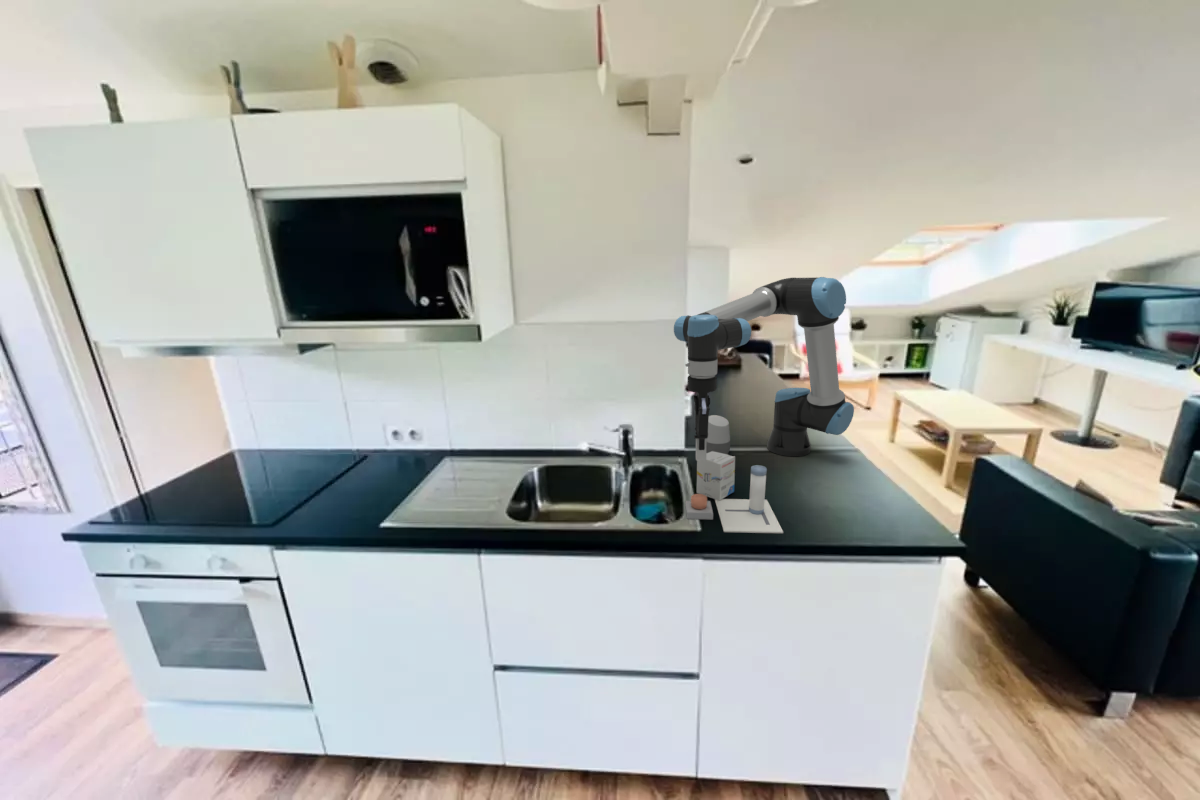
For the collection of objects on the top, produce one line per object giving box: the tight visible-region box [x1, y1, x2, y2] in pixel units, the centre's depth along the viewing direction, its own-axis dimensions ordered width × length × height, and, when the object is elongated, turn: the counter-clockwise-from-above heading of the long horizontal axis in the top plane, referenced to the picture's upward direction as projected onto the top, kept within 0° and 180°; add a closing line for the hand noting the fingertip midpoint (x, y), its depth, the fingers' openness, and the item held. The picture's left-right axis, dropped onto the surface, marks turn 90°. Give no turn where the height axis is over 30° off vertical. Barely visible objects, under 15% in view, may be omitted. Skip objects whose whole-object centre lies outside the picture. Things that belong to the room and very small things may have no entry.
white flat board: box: [714, 498, 784, 534], centre depth 134 cm, size 18×15×1 cm
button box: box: [684, 500, 714, 520], centre depth 136 cm, size 7×7×2 cm
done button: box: [690, 493, 708, 509], centre depth 136 cm, size 4×4×4 cm
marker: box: [749, 464, 768, 514], centre depth 134 cm, size 4×4×13 cm
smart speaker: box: [706, 414, 731, 455], centre depth 177 cm, size 10×9×14 cm
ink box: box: [696, 451, 736, 500], centre depth 147 cm, size 9×8×12 cm
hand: (700, 459), depth 133 cm, fingers closed
